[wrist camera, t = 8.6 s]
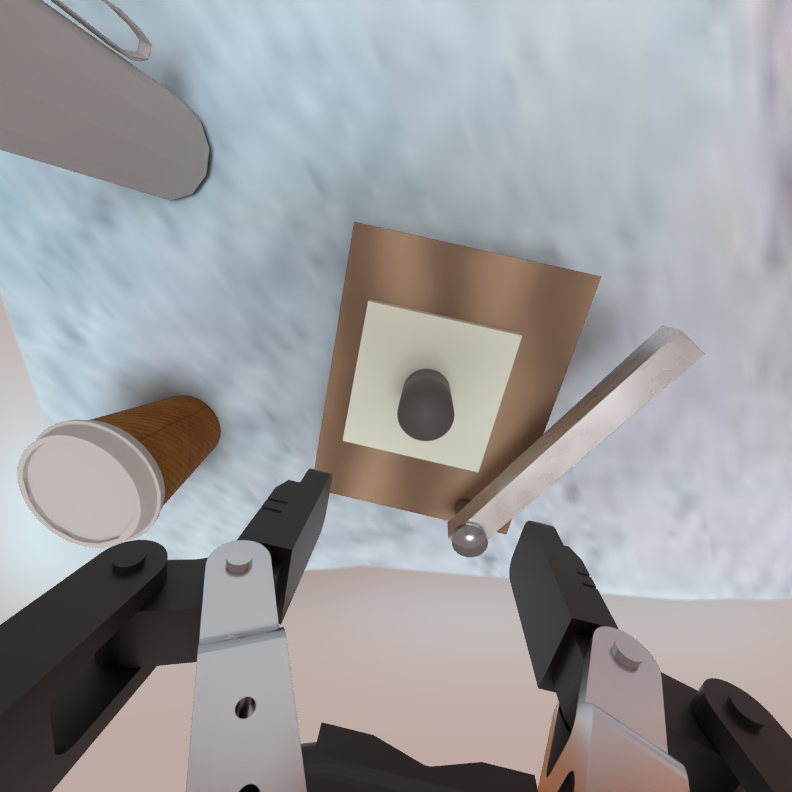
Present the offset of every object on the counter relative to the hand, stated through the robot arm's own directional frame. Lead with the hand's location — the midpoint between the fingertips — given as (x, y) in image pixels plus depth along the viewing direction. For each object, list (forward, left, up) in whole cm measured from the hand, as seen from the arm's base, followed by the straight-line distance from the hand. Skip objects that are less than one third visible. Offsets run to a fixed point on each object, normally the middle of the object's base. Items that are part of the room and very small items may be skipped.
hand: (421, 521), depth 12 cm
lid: (0, 0, -16) cm, 16 cm away
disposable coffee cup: (+21, +11, -22) cm, 32 cm away
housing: (-1, 0, -22) cm, 22 cm away
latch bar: (-9, +2, -14) cm, 17 cm away
